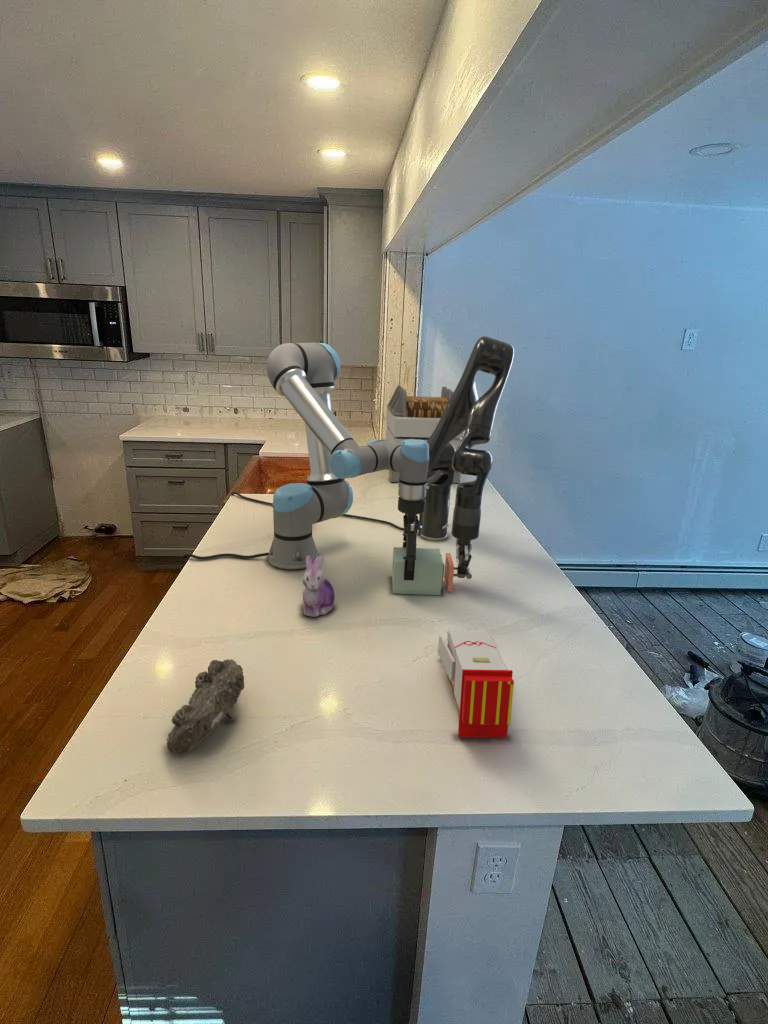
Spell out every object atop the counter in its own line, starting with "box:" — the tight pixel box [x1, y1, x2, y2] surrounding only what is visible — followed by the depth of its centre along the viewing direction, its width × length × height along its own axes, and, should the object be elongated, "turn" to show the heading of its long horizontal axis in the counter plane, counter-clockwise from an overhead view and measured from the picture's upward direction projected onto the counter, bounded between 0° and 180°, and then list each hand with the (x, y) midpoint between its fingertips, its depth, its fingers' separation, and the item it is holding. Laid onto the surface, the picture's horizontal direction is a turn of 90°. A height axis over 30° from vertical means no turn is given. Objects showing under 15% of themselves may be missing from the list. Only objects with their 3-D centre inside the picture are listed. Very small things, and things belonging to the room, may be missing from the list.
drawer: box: [441, 552, 473, 592], centre depth 161 cm, size 18×9×8 cm, turn 91°
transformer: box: [384, 384, 464, 484], centre depth 268 cm, size 34×33×41 cm
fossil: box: [166, 658, 245, 754], centre depth 106 cm, size 22×10×15 cm
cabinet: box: [391, 546, 444, 596], centre depth 161 cm, size 13×10×10 cm
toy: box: [437, 628, 515, 738], centre depth 117 cm, size 12×13×30 cm
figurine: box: [302, 554, 336, 617], centre depth 145 cm, size 9×10×15 cm
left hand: (407, 571), depth 161 cm, fingers closed on cabinet, 10 cm apart
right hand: (460, 576), depth 162 cm, fingers closed
